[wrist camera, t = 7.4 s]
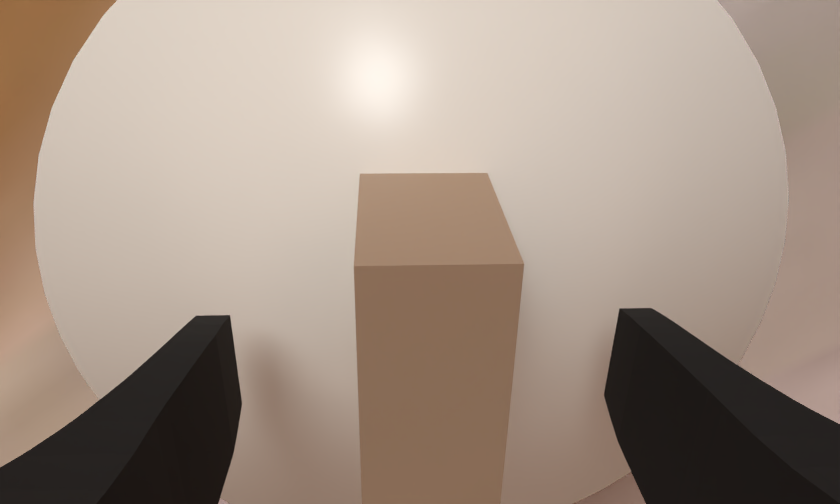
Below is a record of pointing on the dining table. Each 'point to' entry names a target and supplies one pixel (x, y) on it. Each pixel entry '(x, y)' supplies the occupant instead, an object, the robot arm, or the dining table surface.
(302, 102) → the cover
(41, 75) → the dining table surface
